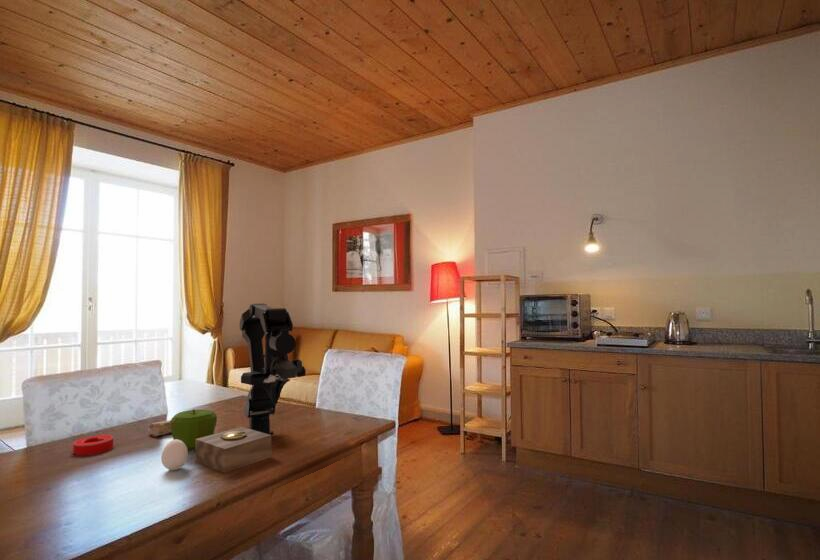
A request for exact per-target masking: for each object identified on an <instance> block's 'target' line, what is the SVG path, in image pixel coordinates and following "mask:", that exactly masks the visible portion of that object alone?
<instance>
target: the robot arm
mask: <svg viewBox="0 0 820 560" xmlns="http://www.w3.org/2000/svg"><path fill="white" fill-rule="evenodd" d="M293 326H294V325H293V321H292V319H291V316H290V314H289V312H288V309H287V308H285V307H277V308H276V307H271V306H268V305H267V303H252V304H250V305H249V308H248V309H247V310H246V311H244V312H243V313H241V317H240V319H239V330H240V331H241V336H242V338H243V339H244V340H245V342H246V343H247V347H248V358H249V366H250V367H249V368H250V371H248V372H243V373H242V375H241V376H240V383H241V384H245V385H250V386H251V387H250V389H249V392H248V393H247V398H246V401H245V405H244V408H243V411H244V416H245V417H246V418H247V419H249V428H248V429H251V430H255V431H259V432H262V433H266V434H270V435H271V434H274V430H271V426H270V425H271V423H270V422H271V419H270V415H274V414H275V412H276V405H277V404H278V401H279V398H280V397H281V393H282V390H283V388H284V386H285V385H286V384H287V383H288V382H291V379H292V378H293V379H295V378H296V377H297V378H300V377H301V378H302V377H305V376H306V375H307V373H306V372H307V371H306V368H305V366H304V365H303V361H302V359H299V358H298V359H294V360H289V356H288V354H291V353H292V352H293V351H294V350H295V348H296V340H295V337H294V336H293V335H292V334H290V333H289V332H293ZM263 339H264V344H263ZM263 345H264V347H263Z"/></svg>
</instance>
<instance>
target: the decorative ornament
mask: <svg viewBox="0 0 820 560" xmlns="http://www.w3.org/2000/svg"><path fill="white" fill-rule="evenodd" d="M113 448H114V437H113V435H111V434H110V435H109V434H98V435H92V436H87V437H82V438H80V439H77V440H75V441H74V442H73V445H72V454H73V453H74V454H75V455H76V456H91V455H95V454H100V453H104V452H107V451H110V450H111V449H113ZM74 454H73V455H74ZM75 455H74V456H75Z"/></svg>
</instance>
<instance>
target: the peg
mask: <svg viewBox="0 0 820 560" xmlns="http://www.w3.org/2000/svg"><path fill="white" fill-rule="evenodd" d="M244 436H245V432H244V431H232V432H227V433H224V434H223V435H222V439H225V440H228V441H234V440H237V439H240V438H243V437H244Z"/></svg>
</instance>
